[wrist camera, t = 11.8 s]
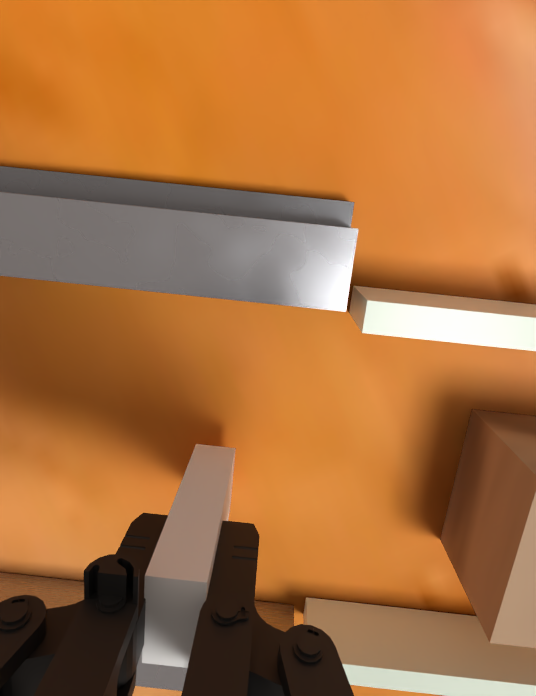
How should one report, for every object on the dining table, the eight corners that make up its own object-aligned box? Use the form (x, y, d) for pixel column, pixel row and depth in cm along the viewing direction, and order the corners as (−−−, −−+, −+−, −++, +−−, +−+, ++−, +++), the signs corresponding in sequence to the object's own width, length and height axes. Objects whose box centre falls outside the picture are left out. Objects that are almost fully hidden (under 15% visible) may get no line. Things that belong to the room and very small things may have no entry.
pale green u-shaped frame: (303, 614, 21) (306, 679, 18) (353, 285, 16) (367, 300, 14) (636, 651, 20) (693, 723, 18) (772, 328, 16) (877, 353, 13)
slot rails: (-51, 623, 22) (-94, 674, 19) (-110, 155, 16) (-181, 145, 13) (285, 660, 21) (285, 717, 19) (350, 202, 16) (362, 200, 13)
